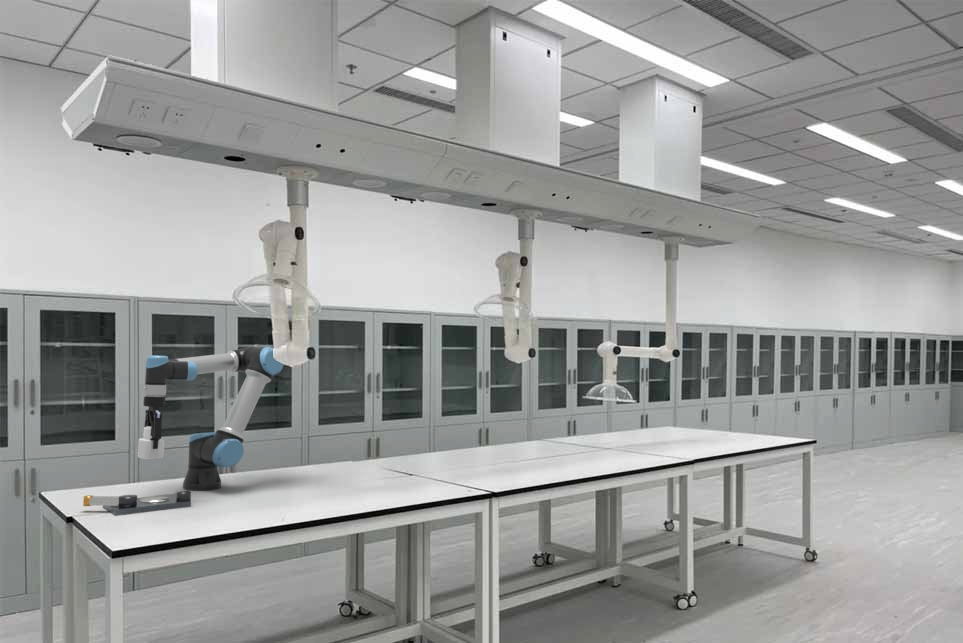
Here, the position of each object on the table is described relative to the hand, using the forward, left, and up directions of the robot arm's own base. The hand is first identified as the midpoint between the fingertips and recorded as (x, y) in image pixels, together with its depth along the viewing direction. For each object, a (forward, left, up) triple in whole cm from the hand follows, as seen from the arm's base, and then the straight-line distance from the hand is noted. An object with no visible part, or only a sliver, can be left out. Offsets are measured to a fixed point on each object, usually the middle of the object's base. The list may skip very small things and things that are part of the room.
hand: (150, 456), depth 273 cm
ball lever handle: (+15, +7, -16) cm, 23 cm away
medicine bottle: (0, 0, -1) cm, 1 cm away
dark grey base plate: (+2, +6, -18) cm, 19 cm away
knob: (-9, +11, -16) cm, 21 cm away
